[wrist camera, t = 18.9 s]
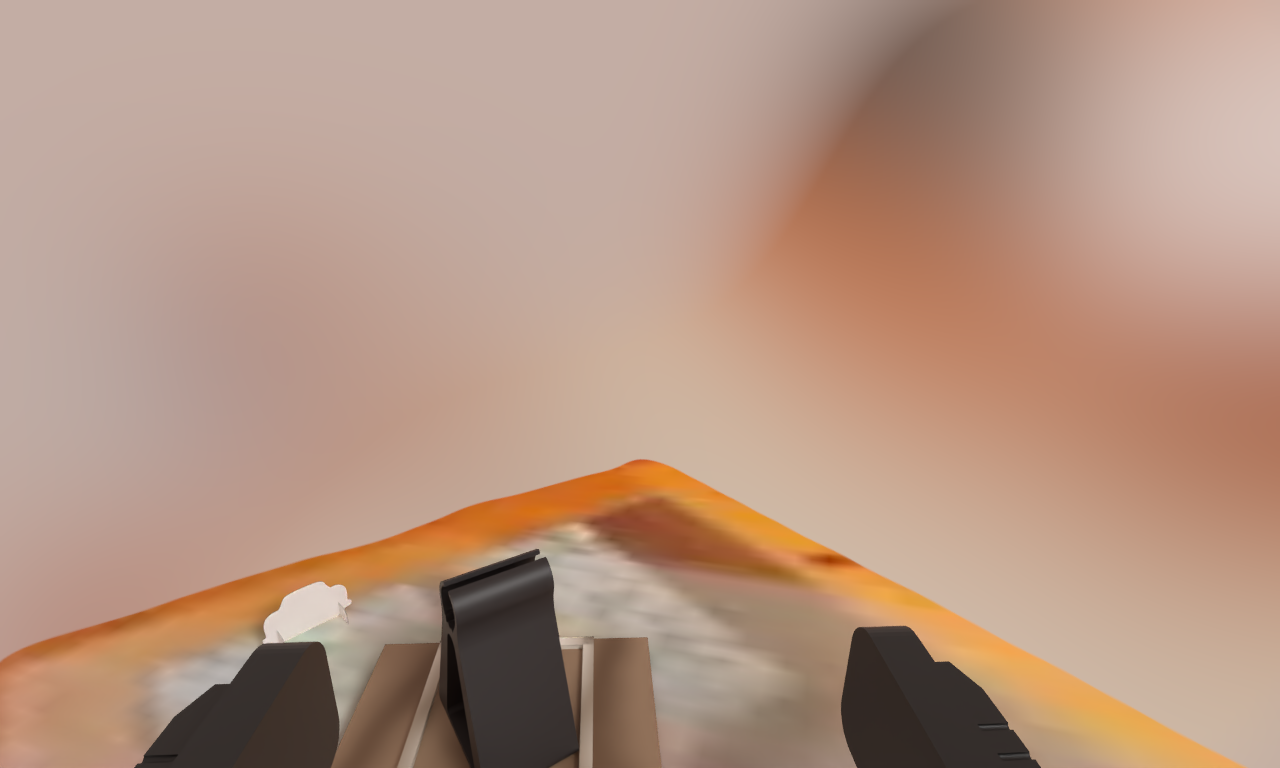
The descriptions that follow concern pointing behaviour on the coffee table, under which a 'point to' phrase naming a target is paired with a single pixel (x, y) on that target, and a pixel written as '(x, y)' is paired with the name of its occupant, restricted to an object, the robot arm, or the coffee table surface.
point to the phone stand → (505, 666)
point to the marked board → (426, 742)
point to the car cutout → (305, 611)
